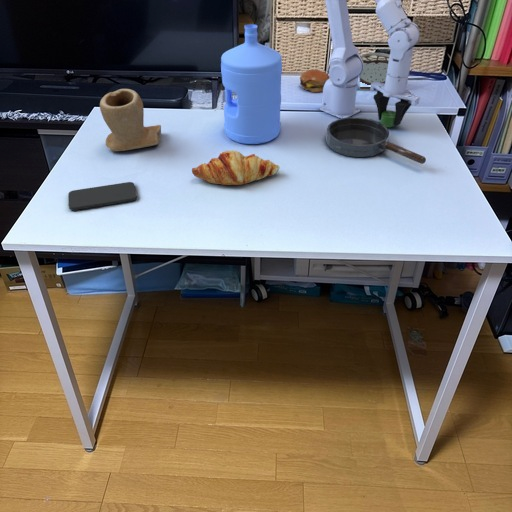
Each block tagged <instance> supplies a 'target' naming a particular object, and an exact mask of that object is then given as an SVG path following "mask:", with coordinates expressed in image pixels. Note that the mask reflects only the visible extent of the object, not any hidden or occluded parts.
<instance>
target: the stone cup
mask: <svg viewBox="0 0 512 512" xmlns="http://www.w3.org/2000/svg"><path fill="white" fill-rule="evenodd" d="M99 109H100V113H101V116H102V119H103V121H104V123H105V125H106V126H107V127H108V129H109V130H110V131H111V133H109V134H108V135H107V137H106V139H105V146H106V148H107V149H108V150H110V151H112V152H125V151H131V150H137V149H141V148H142V149H143V148H148V147H153V146H157V145H158V144H159V143H160V139H161V136H162V125H161V124H156V125H150V126H145V125H144V123H145V122H144V117H145V116H144V114H145V113H144V112H145V110H144V103H143V100H142V97H140V95H139V94H138V92H136V91H135V90H133V89H130V88H120V89H117V90H114V91H110V92H108V93H106V94H105V95H104V96H103V97H102V98H101V99H100V102H99Z"/></svg>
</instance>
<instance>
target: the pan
mask: <svg viewBox="0 0 512 512" xmlns="http://www.w3.org/2000/svg"><path fill="white" fill-rule="evenodd" d="M389 137H390V131H389V129H388V127H386V126H385V125H382V124H381V122H379V121H377V120H374V119H370V118H365V117H355V116H353V117H352V116H350V117H348V118H342V119H341V118H339V119H336V120H333V121H332V122H330V123H329V124H328V126H327V127H326V135H325V141H326V142H325V143H326V145H327V146H328V147H329V148H330V149H331V150H332V151H333V152H335V153H338V154H340V155H343V156H346V157H351V158H369V157H374V156H377V155H379V154H381V153H383V152H385V150H382V149H380V145H381V143H383V142H385V141H386V142H389Z"/></svg>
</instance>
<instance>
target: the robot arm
mask: <svg viewBox="0 0 512 512" xmlns="http://www.w3.org/2000/svg"><path fill="white" fill-rule="evenodd" d="M324 1H325V2H324V3H325V7H326V13H327V19H328V26H329V32H330V37H331V44H332V52H331V55H330V57H329V70H328V75H329V79H328V80H327V81H326V83H325V85H324V87H323V91H322V98H321V107H319V110H320V111H322V112H324V113H327V114H329V115H332V116H333V117H336V118H339V119H342V118H350V117H352V116H354V115H357V114H358V113H360V112H361V109H359V108H357V107H356V106H355V105H356V100H357V92H358V86H359V85H358V83H359V77H360V74H361V73H362V72H363V69H364V63H363V61H362V59H361V55H360V50H359V48H358V47H356V45H354V42H353V33H352V28H351V21H350V14H349V7H348V0H324ZM373 1H374V2H375V4H376V7H375V14H376V16H377V18H378V19H379V21H380V22H381V25H382V26H383V28H384V30H385V32H386V34H387V35H388V36H389V37H388V39H387V44H388V48H389V49H390V52H389V55H390V57H389V63H388V69H387V75H386V81H385V84H383V83H378V82H373V83H371V87H370V90H369V91H371V92H376V94H374V95H373V100H374V102H375V105H376V109H377V118H378V120H379V121H381V116H382V112H384V111H388V105H389V102H390V99H391V98H395V99H397V100H399V101H397V102H395V103H394V106H395V112H396V115H395V120H394V126H393V127H398V126H400V125H401V123H402V121H403V119H404V116H405V115H406V114H407V111H408V110H409V109H410V108H411V106H413V107H415V106H417V105H419V103H420V99H421V97H420V96H419V95H417V94H414V93H413V92H411V91H409V90H408V89H407V88H408V87H407V86H408V82H409V76H410V72H411V66H412V60H413V56H414V55H413V54H414V50H415V45H416V44H417V43H418V42H419V40H420V35H421V33H420V29H419V26H418V24H416V23H415V22H412V20H411V19H410V18H408V15H407V14H406V12H405V10H404V9H403V7H402V5H403V2H402V0H373Z"/></svg>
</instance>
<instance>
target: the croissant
mask: <svg viewBox="0 0 512 512" xmlns="http://www.w3.org/2000/svg"><path fill="white" fill-rule="evenodd" d="M280 169H281V167H280V165H278V164H275V163H274V161H271V160H270V159H266V160H265V159H263V158H261V157H259V156H258V155H256V154H255V153H253V154H252V153H251V154H249V155H243V154H242V153H241V152H240V151H237V150H226V151H223V152H220V153H219V155H218V157H213V158H211V159H210V160H209V162H207V163H205V162H204V163H201V164H199V165H197V167H192V169H191V172H192V173H191V174H192V175H193V176H194V177H196V178H199V179H202V180H204V181H206V182H208V183H210V184H214V185H215V184H218V185H221V186H232V185H233V186H234V185H235V186H240V185H246V184H249V183H252V182H255V181H260V180H262V179H263V178H266V177H271V176H274V175H276V174H277V173H278V172H279V171H280Z"/></svg>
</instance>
